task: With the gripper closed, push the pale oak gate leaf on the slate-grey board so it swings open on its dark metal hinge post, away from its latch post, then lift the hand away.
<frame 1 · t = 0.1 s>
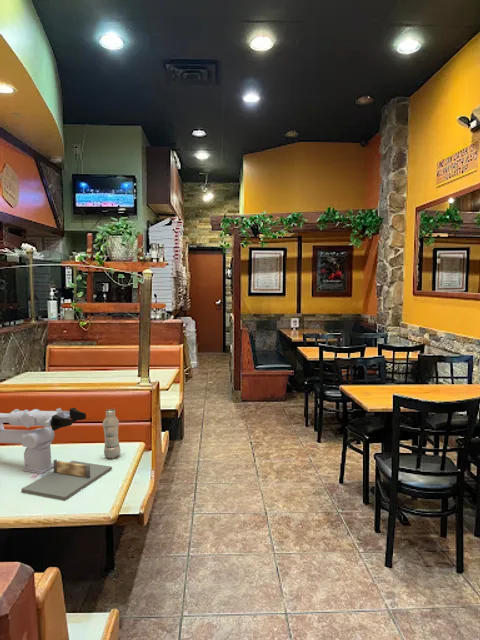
hand: (78, 419, 157), 22 cm above the table, tool horizontal, fingers open, 7 cm apart
gate leaf: (71, 468, 156), point 4 cm above the table, hinge at 0.0°
gate board: (69, 480, 154), on the table
plastic bottle: (112, 457, 175), on the table
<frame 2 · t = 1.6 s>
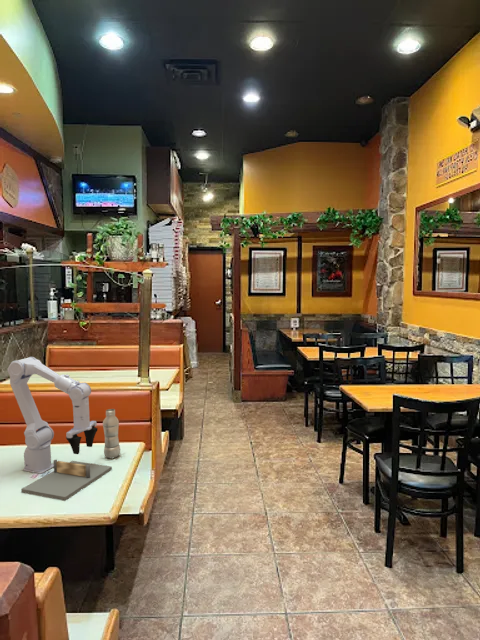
hand: (83, 450, 161), 8 cm above the table, tool pointing down, fingers open, 7 cm apart
nothing on the table moved.
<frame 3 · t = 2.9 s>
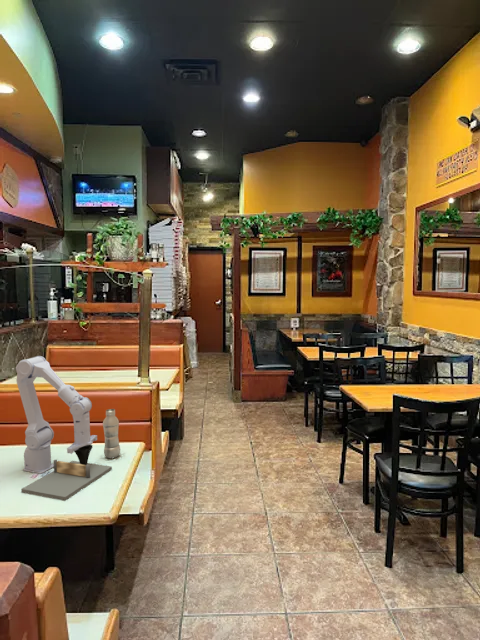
hand: (83, 464, 161), 3 cm above the table, tool pointing down, fingers closed
nothing on the table moved.
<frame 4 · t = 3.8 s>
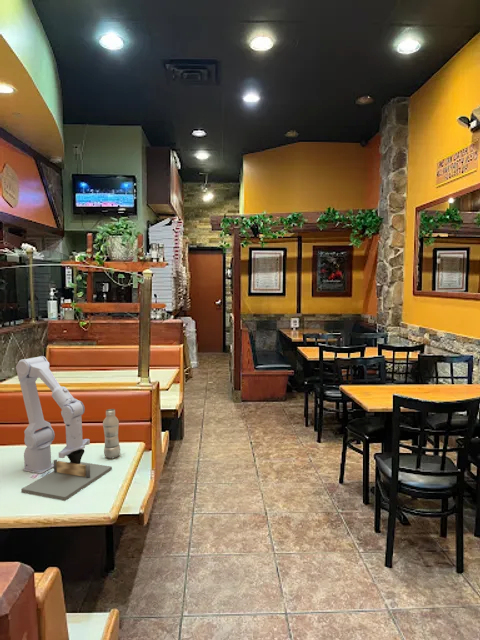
hand: (75, 469, 157), 3 cm above the table, tool pointing down, fingers closed, pressing on gate leaf
gate leaf: (71, 468, 156), point 4 cm above the table, hinge at 0.1°, touching gripper
everything else where it was.
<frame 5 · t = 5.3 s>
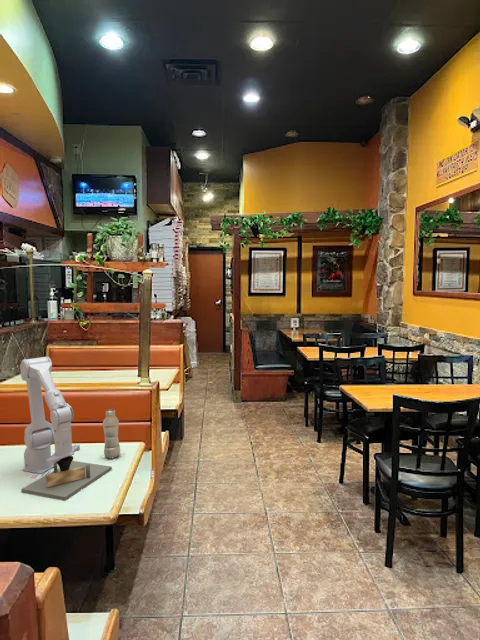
hand: (64, 476, 151), 3 cm above the table, tool pointing down, fingers closed, pressing on gate leaf
gate leaf: (65, 476, 149), point 4 cm above the table, hinge at 51.5°, touching gripper
everything else where it was.
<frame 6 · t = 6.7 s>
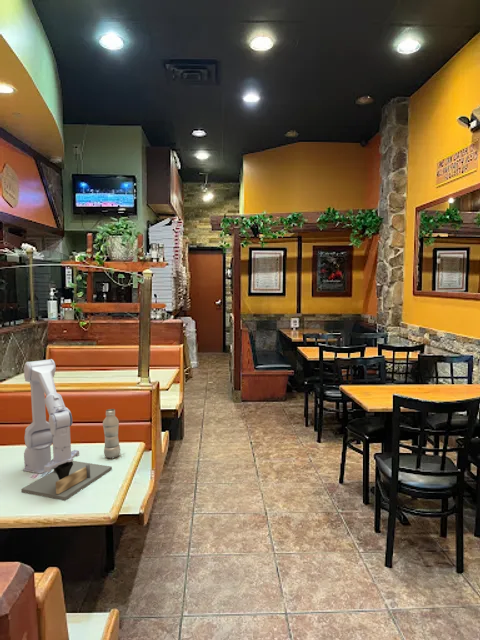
hand: (63, 483, 146), 3 cm above the table, tool pointing down, fingers closed, pressing on gate leaf
gate leaf: (71, 480, 147), point 4 cm above the table, hinge at 84.8°, touching gripper
everything else where it was.
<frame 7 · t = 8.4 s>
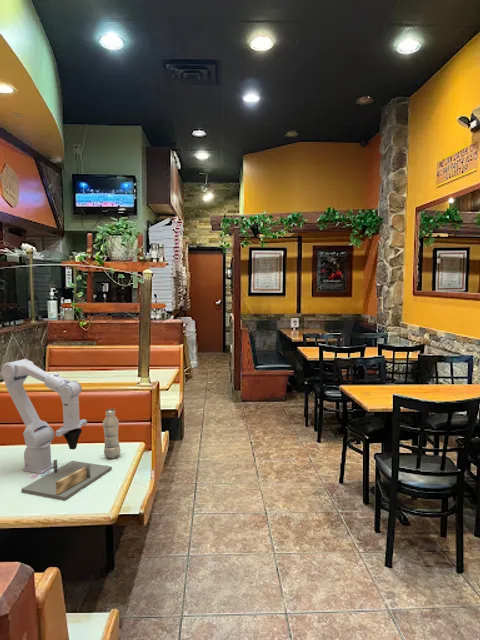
hand: (72, 448, 160), 9 cm above the table, tool pointing down, fingers closed
gate leaf: (71, 480, 147), point 4 cm above the table, hinge at 84.9°
everything else where it was.
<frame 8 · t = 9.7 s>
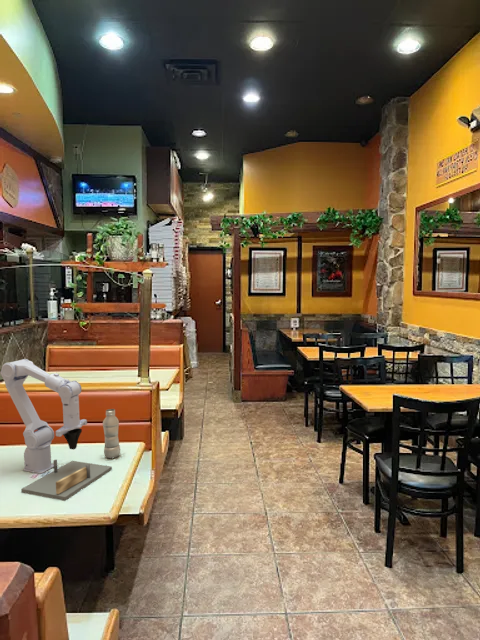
hand: (72, 448, 160), 9 cm above the table, tool pointing down, fingers closed
nothing on the table moved.
at the end: gate leaf at +85° (first picture: +0°) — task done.
